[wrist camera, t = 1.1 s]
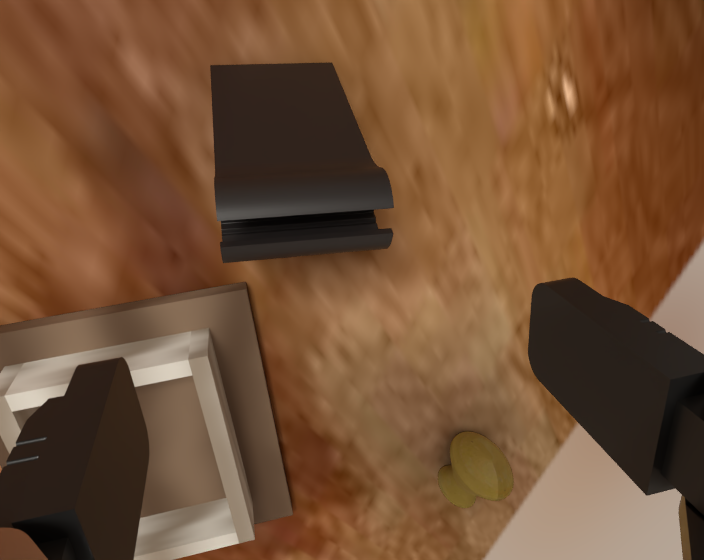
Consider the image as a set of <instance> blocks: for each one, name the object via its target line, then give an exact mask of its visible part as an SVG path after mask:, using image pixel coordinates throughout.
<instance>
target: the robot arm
mask: <svg viewBox="0 0 704 560" xmlns="http://www.w3.org/2000/svg"><path fill="white" fill-rule="evenodd" d="M528 356H529V361H530V365H531V368H532V370H533V372H534V374H535V376H536V377H537V379H538V380H539V381H540V382H541V383H542V384H543V385H544V386H545V387H546V389H547V390H548V391H549V392H550V393H551V394H552V395H553V396H554V397H555V398H556V399H557V400H558V401H559V402H560V404H561V405H562V406H563V407H564V408H565V409H566V410H567V411H568V412H569V413H570V414H571V415H572V416H573V417H574V418H575V420H576V421H577V422H578V423H579V424H580V425H581V426H582V427H583V428H584V429H585V430H586V431H587V432H588V433H589V435H591V436H592V438H593V439H594V440H595V441H596V442H597V443H598V444H599V445H600V446H601V447H602V448H603V449H604V450H605V452H606V453H607V454H608V455H609V456H610V457H611V458H612V459H613V460H614V461H615V462H616V463H617V464H618V465H619V467H620V468H621V469H622V470H623V471H624V472H625V473H626V474H627V475H628V476H629V477H630V478H631V479H632V481H634V483H635V484H636V485H637V486H638V487H639V488H640V489H641V490H642V491H643V492H644V493H645V494H646V495H651V494H655V493H659V492H663V491H667V490H671V489H674V488H676V489H677V490H678V491H679V492H680V493H681V494H682V497H681V501H680V505H679V521H680V532H681V541H682V553H683V560H704V354H702V353H701V352H699V351H697V350H696V349H694V348H693V347H691V346H690V345H688V344H687V343H685V342H684V341H682V340H681V339H679V338H678V337H676V336H674V335H673V334H672V333H670V332H668V333H666V331H665V329H664V328H662V327H661V326H659V325H658V324H656V323H655V322H653V321H651V322H650V321H649V318H647V317H646V316H644V315H643V314H641V313H640V312H638V311H637V310H635V309H633V308H632V307H630V306H629V305H626V304H623V303H621V302H618V301H615V300H612V299H610V298H607V297H604V296H602V295H601V294H599V293H598V292H596V291H595V290H593V289H592V288H590V287H589V286H587V285H586V284H584V283H583V282H581V281H580V280H578V279H576V278H567V279H562V280H556V281H550V282H545V283H540V284H537V285H536V286H535V288H534V290H533V293H532V301H531V315H530V330H529V344H528ZM6 463H7V466H4V467H3V469H2V471H1V473H0V560H134V554H135V548H136V541H137V535H138V528H139V522H140V516H141V509H142V503H143V496H144V490H145V483H146V477H147V471H148V464H149V438H148V431H147V427H146V423H145V420H144V416H143V413H142V410H141V406H140V403H139V400H138V396H137V393H136V390H135V386H134V383H133V380H132V376H131V373H130V370H129V367H128V364H127V362H126V360H125V359H124V358H123V357H119V358H114V359H108V360H103V361H97V362H91V363H86V364H80V365H78V366H77V367H76V369H75V371H74V373H73V376H72V378H71V380H70V383H69V385H68V388H67V390H66V392H65V395H64V396H60V397H54V398H49V399H48V400H47V401H46V402H45V403H44V404H43V405H42V406H41V407H40V408H38V409H37V410H36V411H35V412H34V413H33V414H32V415H31V416H30V417H29V418H28V419H27V420H26V422H25V424H24V426H23V428H22V430H21V432H20V434H19V436H18V438H17V441H16V447H13V449H12V451H11V453H10V455H9V457H8V459H7V461H6Z"/></svg>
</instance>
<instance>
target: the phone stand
mask: <svg viewBox="0 0 704 560" xmlns="http://www.w3.org/2000/svg"><path fill="white" fill-rule="evenodd" d="M210 67H211V89H212V110H213V132H214V153H215V178H214V186H215V201H216V212H217V221H221V229H222V241H223V242H220V247H221V254H222V260H223V263H229V262H240V261H251V260H263V259H274V258H285V257H297V256H308V255H319V254H331V253H342V252H353V251H365V250H376V249H387V248H388V247H389V246H390V244H391V241H392V237H393V232H392V229H391V228H389V229H378V227H377V223H376V217H375V215H374V209H387V208H394V205H393V196H392V190H391V185H390V181H389V178H388V175H387V173H386V171H385V170H384V169H383V168H381V167H378V166H377V165H376V164H375V163H374V162H373V160H372V158H371V156H370V153H369V151H368V149H367V146H366V144H365V141H364V139H363V136H362V134H361V132H360V129H359V127H358V124H357V122H356V119H355V117H354V115H353V112H352V110H351V107H350V105H349V103H348V100H347V98H346V95H345V93H344V90H343V88H342V86H341V83H340V81H339V78H338V76H337V73H336V71H335V69H334V66H333V64H332V63H294V64H251V65H210Z"/></svg>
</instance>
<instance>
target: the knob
mask: <svg viewBox="0 0 704 560" xmlns="http://www.w3.org/2000/svg"><path fill="white" fill-rule="evenodd" d="M450 458H451V465H446V466H443V467H442V468H441V469H440V471H439V473H438V483H439V487H440V489H441V491H442V493H443V494H444V496H445V497H446V498H447V499H448V500H449V501H450V502H451V503H453V504H454V505H456V506H458V507H461V508H469V507H471V506H472V505H473V504H474V503H475V500H476V496H479V497H482V498H484V499H487V500H491V501H499V500H502V499H505V498H506V497H507V496H508V495H509V494H510V493H511V491H512V488H513V482H514V481H513V474H512V470H511V467H510V465H509V463H508V461H507V459H506V457H505V456H504V454H503V453H502V451H501V450H500V449H499V448H498V447H497V446H496V445H495V444H494V443H493V442H492V441H490V440H489V439H488V438H486V437H484V436H482V435H480V434H478V433H475V432H470V431H465V432H461V433H459V434H458V435H456V436H455V438H454V439H453V440H452V442H451V445H450Z"/></svg>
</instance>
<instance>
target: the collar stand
mask: <svg viewBox="0 0 704 560" xmlns="http://www.w3.org/2000/svg"><path fill="white" fill-rule="evenodd" d="M119 357H123V358H124V359H125V360H126V362H127V364H128V367H129V370H130V373H131V376H132V380H133V383H134V386H135V390H136V393H137V396H138V400H139V403H140V406H141V410H142V413H143V416H144V420H145V423H146V427H147V431H148V438H149V464H148V471H147V477H146V483H145V490H144V496H143V503H142V509H141V516H140V522H139V528H138V535H137V541H136V548H135V554H134V560H173V559H177V558H182V557H186V556H190V555H194V554H198V553H202V552H206V551H210V550H214V549H218V548H222V547H226V546H230V545H234V544H238V543H242V542H246V541H250V540H254V539H255V534H254V524H257V523H261V522H265V521H269V520H274V519H278V518H282V517H286V516H290V515H293V511H292V504H291V499H290V494H289V489H288V485H287V480H286V475H285V470H284V465H283V460H282V455H281V451H280V446H279V441H278V436H277V431H276V426H275V422H274V417H273V412H272V407H271V402H270V397H269V393H268V388H267V383H266V378H265V373H264V368H263V363H262V359H261V354H260V349H259V344H258V339H257V334H256V330H255V325H254V320H253V315H252V310H251V305H250V301H249V296H248V291H247V286H246V282H241V283H236V284H230V285H224V286H219V287H213V288H208V289H202V290H196V291H191V292H185V293H180V294H174V295H169V296H163V297H157V298H152V299H146V300H141V301H135V302H129V303H124V304H118V305H113V306H107V307H102V308H96V309H90V310H85V311H79V312H74V313H68V314H63V315H57V316H51V317H46V318H40V319H35V320H29V321H23V322H18V323H12V324H7V325H1V326H0V466H1V468H2V469H3V467H4V466H7V463H6V461H7V459H8V457H9V455H10V453H11V451H12V449H13V447H16V441H17V438H18V436H19V434H20V432H21V430H22V428H23V426H24V424H25V422H26V420H27V419H28V418H29V417H30V416H31V415H32V414H33V413H34V412H35V411H36V410H37V409H38V408H40V407H41V406H42V405H43V404H44V403H45V402H46V401H47V400H48V399H49V398H54V397H60V396H64V395H65V392H66V390H67V388H68V385H69V383H70V380H71V378H72V376H73V373H74V371H75V369H76V367H77V366H78V365H80V364H86V363H91V362H97V361H103V360H108V359H114V358H119Z"/></svg>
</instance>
